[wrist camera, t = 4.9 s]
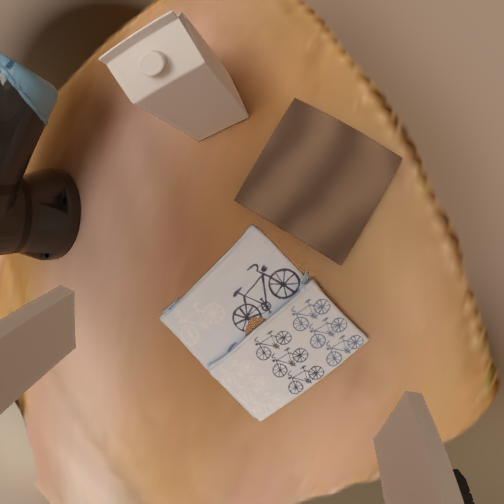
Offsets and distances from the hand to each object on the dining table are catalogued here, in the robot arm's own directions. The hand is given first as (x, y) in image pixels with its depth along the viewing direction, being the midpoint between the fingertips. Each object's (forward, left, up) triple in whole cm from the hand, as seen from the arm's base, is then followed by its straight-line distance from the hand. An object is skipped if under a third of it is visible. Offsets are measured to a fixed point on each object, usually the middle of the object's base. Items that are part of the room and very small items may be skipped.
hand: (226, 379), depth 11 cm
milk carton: (-19, +12, -27) cm, 35 cm away
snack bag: (0, -9, -28) cm, 29 cm away
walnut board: (-3, +10, -27) cm, 29 cm away
